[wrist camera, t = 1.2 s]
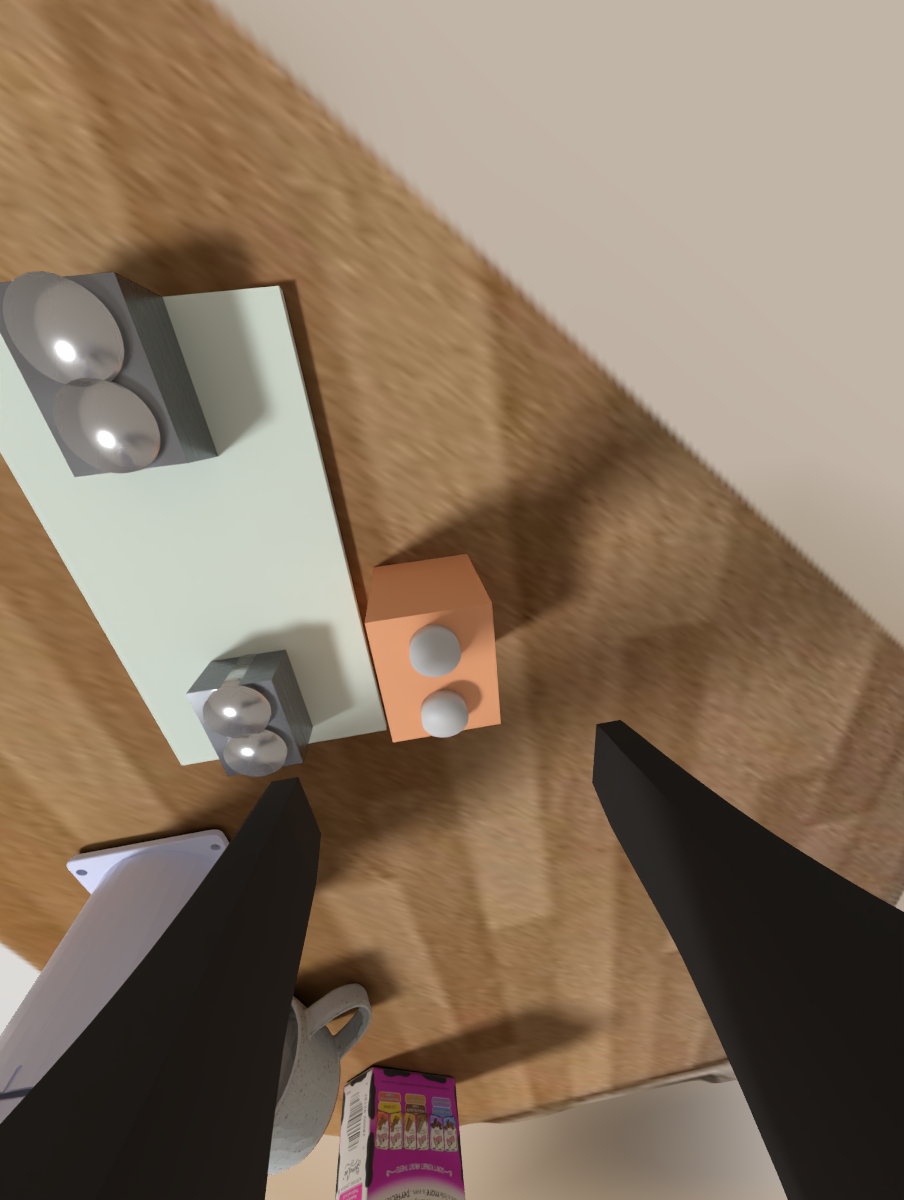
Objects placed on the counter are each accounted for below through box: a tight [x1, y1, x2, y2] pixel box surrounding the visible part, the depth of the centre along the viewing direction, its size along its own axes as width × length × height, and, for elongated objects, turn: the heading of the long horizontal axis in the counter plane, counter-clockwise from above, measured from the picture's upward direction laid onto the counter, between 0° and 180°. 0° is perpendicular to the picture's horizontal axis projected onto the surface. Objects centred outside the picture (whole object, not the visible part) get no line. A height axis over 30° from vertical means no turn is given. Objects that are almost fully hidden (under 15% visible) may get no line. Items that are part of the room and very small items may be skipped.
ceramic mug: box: [268, 983, 372, 1174], centre depth 28 cm, size 11×8×8 cm
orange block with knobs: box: [365, 554, 501, 743], centre depth 15 cm, size 5×4×6 cm
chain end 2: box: [186, 649, 313, 777], centre depth 17 cm, size 5×3×2 cm
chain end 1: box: [0, 272, 218, 477], centre depth 11 cm, size 5×3×2 cm
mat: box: [0, 286, 387, 765], centre depth 16 cm, size 18×10×1 cm, turn 6°
